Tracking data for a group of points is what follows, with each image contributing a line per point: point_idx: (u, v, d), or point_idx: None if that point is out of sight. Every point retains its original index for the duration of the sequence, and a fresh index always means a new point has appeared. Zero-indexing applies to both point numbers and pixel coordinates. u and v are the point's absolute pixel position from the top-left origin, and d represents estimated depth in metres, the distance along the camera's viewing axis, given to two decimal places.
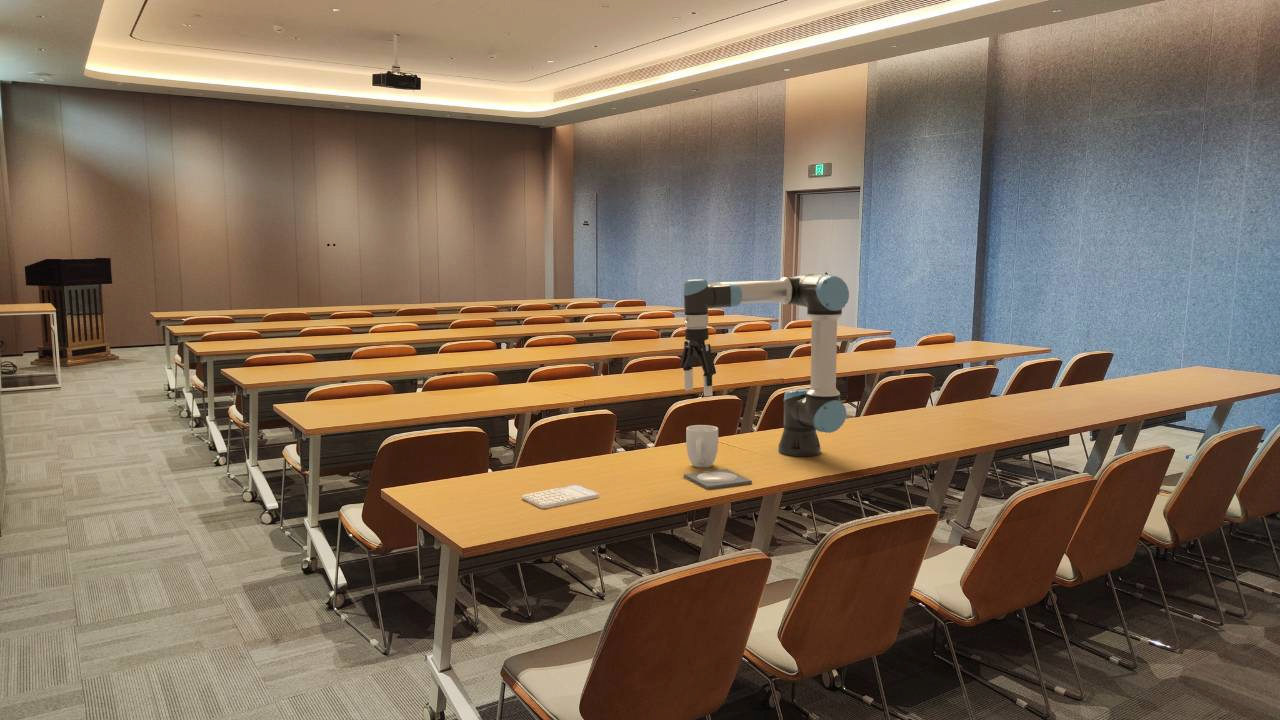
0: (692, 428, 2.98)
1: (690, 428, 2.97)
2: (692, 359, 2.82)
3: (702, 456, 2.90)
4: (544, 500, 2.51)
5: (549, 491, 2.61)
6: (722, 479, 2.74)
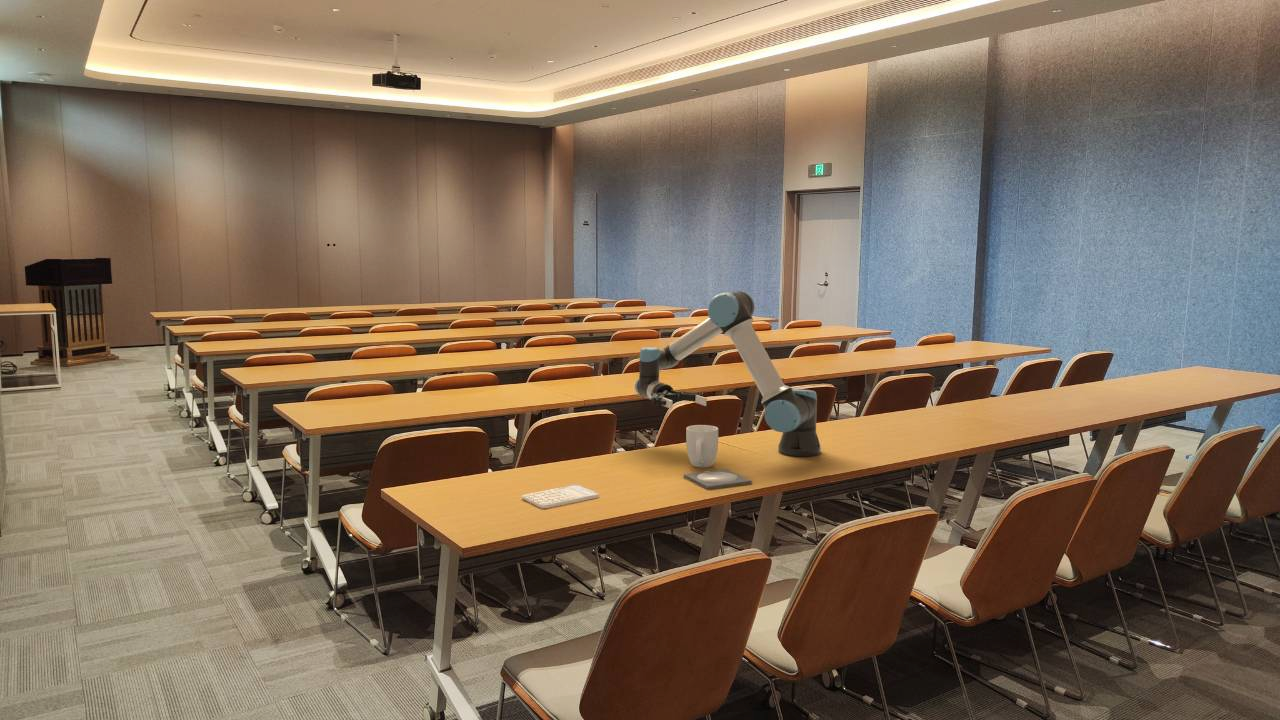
0: (692, 428, 2.98)
1: (690, 428, 2.97)
2: (684, 396, 3.12)
3: (702, 456, 2.90)
4: (544, 500, 2.51)
5: (549, 491, 2.61)
6: (722, 479, 2.74)
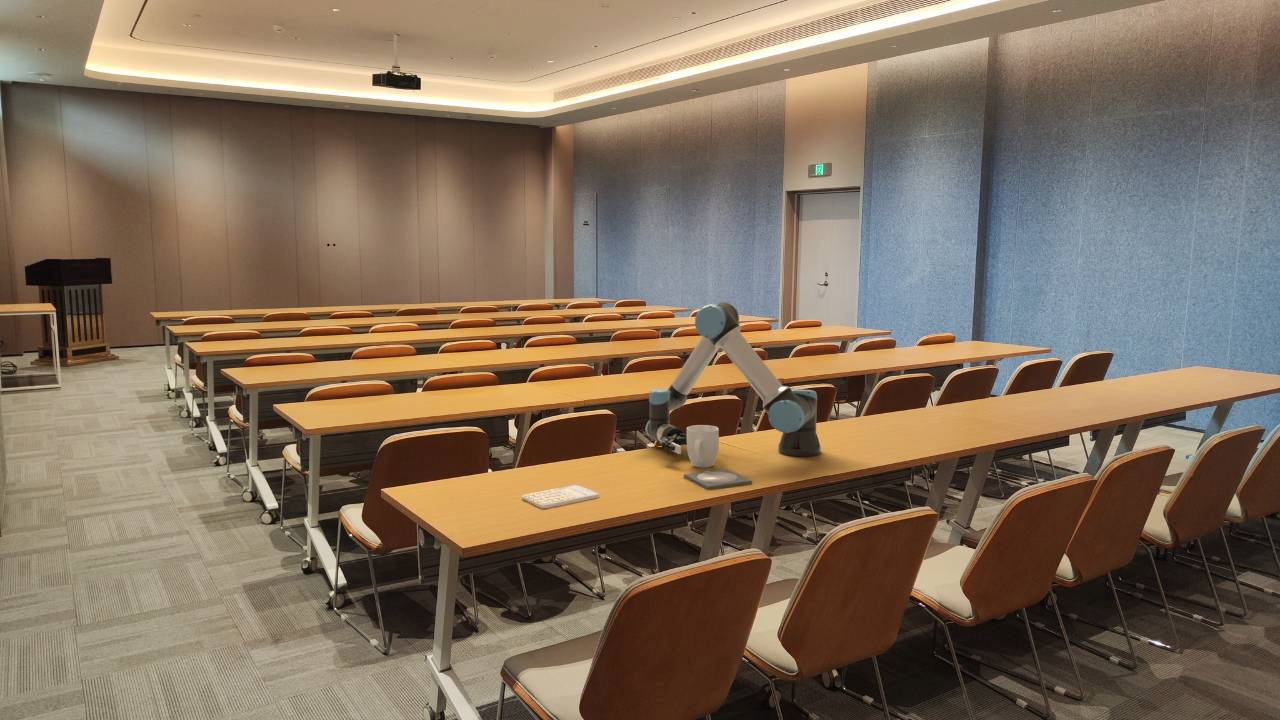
0: (693, 428, 2.98)
1: (691, 428, 2.97)
2: None
3: (701, 456, 2.90)
4: (544, 500, 2.51)
5: (549, 491, 2.61)
6: (722, 479, 2.74)
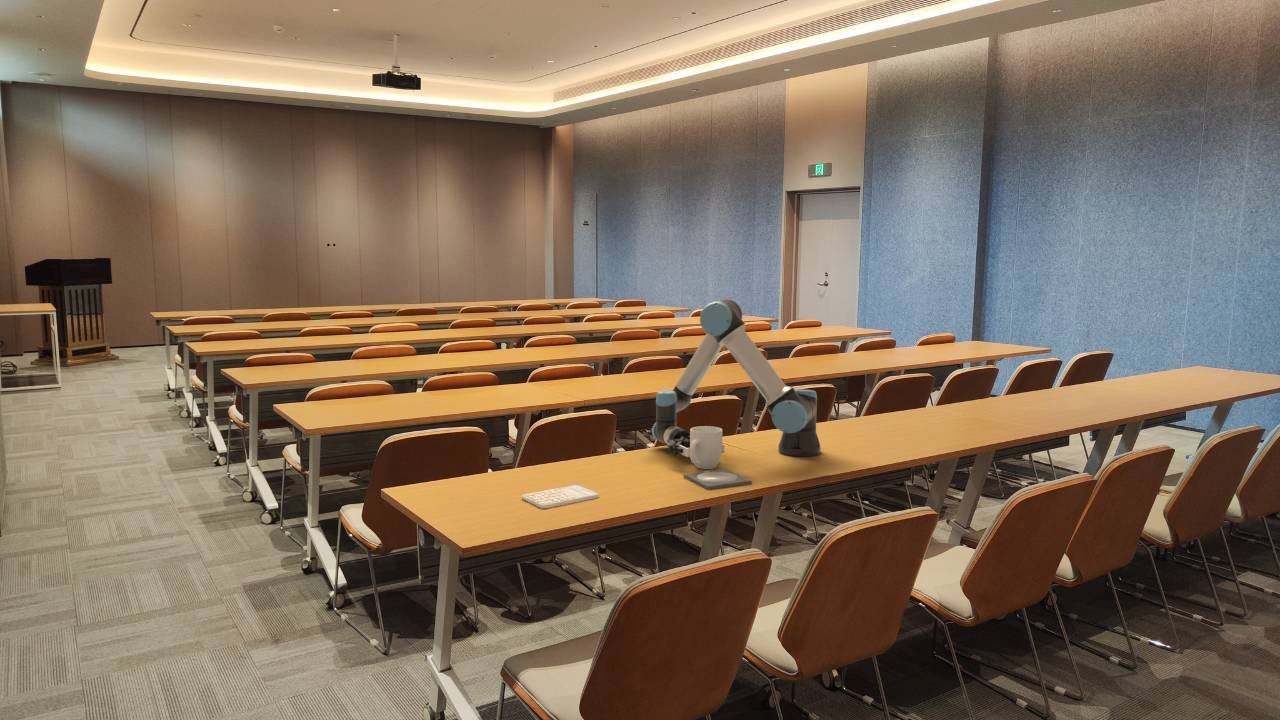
0: (701, 428, 2.97)
1: (698, 428, 2.96)
2: None
3: (700, 457, 2.88)
4: (544, 500, 2.51)
5: (549, 491, 2.61)
6: (722, 479, 2.74)
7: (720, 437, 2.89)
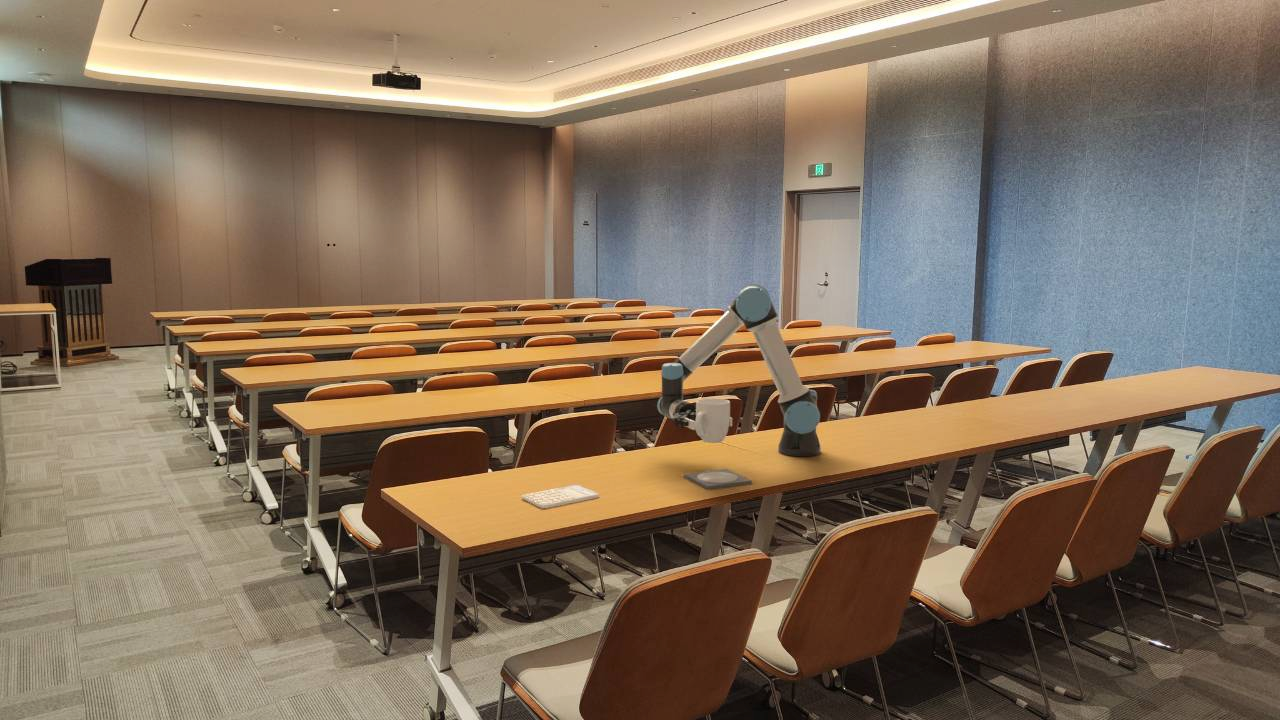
0: (707, 401, 2.83)
1: (705, 401, 2.82)
2: None
3: (706, 430, 2.75)
4: (544, 500, 2.51)
5: (549, 491, 2.61)
6: (722, 479, 2.74)
7: (727, 409, 2.75)
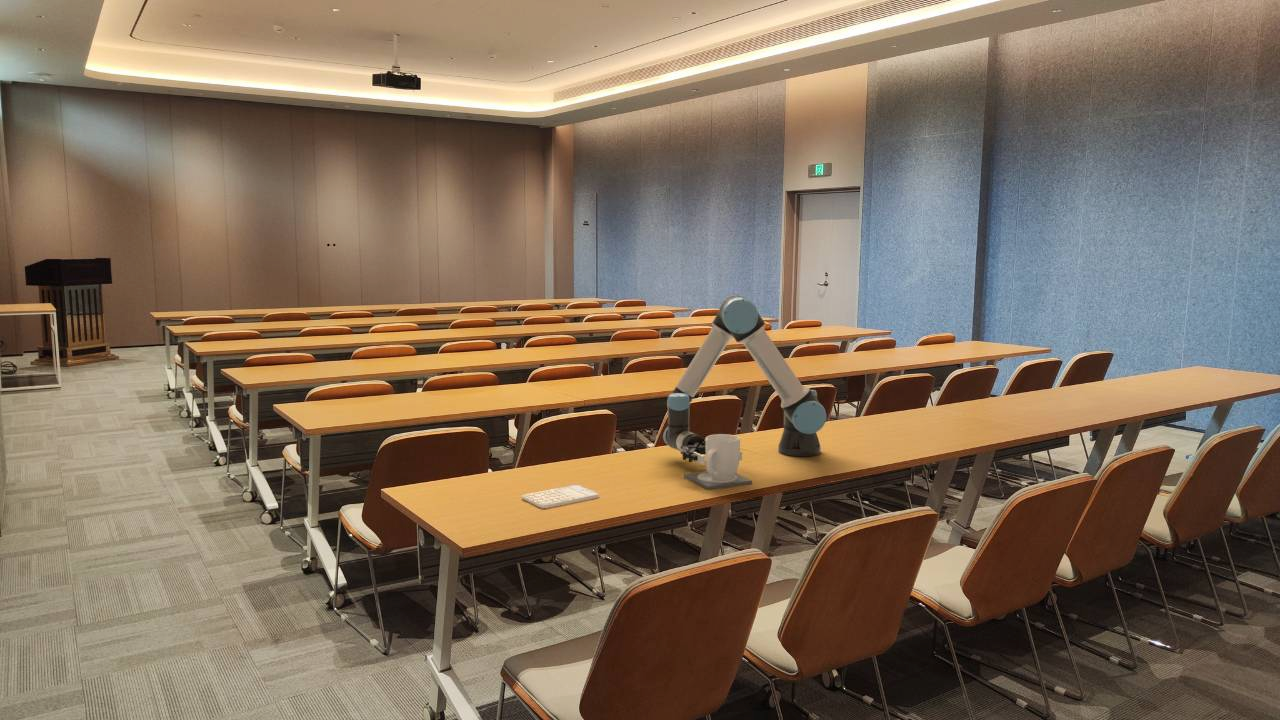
0: (716, 437, 2.78)
1: (714, 437, 2.78)
2: None
3: (716, 468, 2.70)
4: (544, 500, 2.51)
5: (549, 491, 2.61)
6: None
7: (738, 446, 2.71)
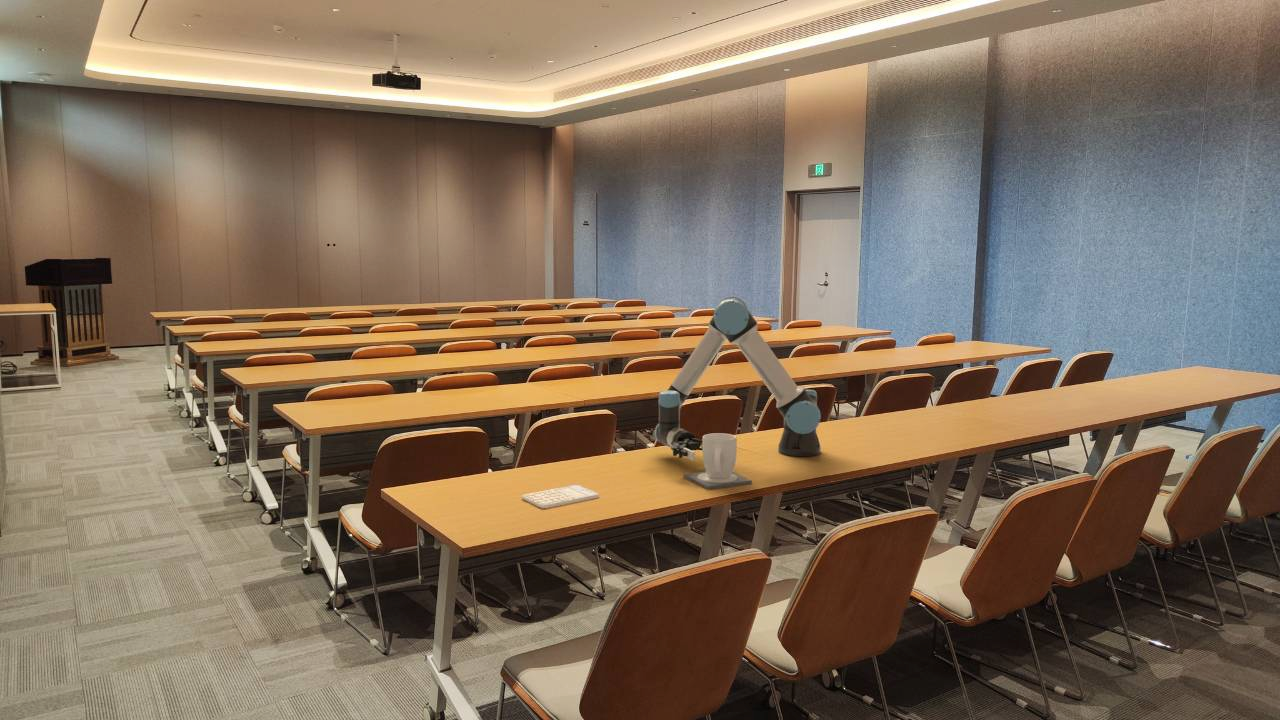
0: (708, 436, 2.79)
1: (706, 437, 2.78)
2: None
3: (720, 467, 2.72)
4: (544, 500, 2.51)
5: (549, 491, 2.61)
6: (722, 479, 2.74)
7: (736, 443, 2.75)
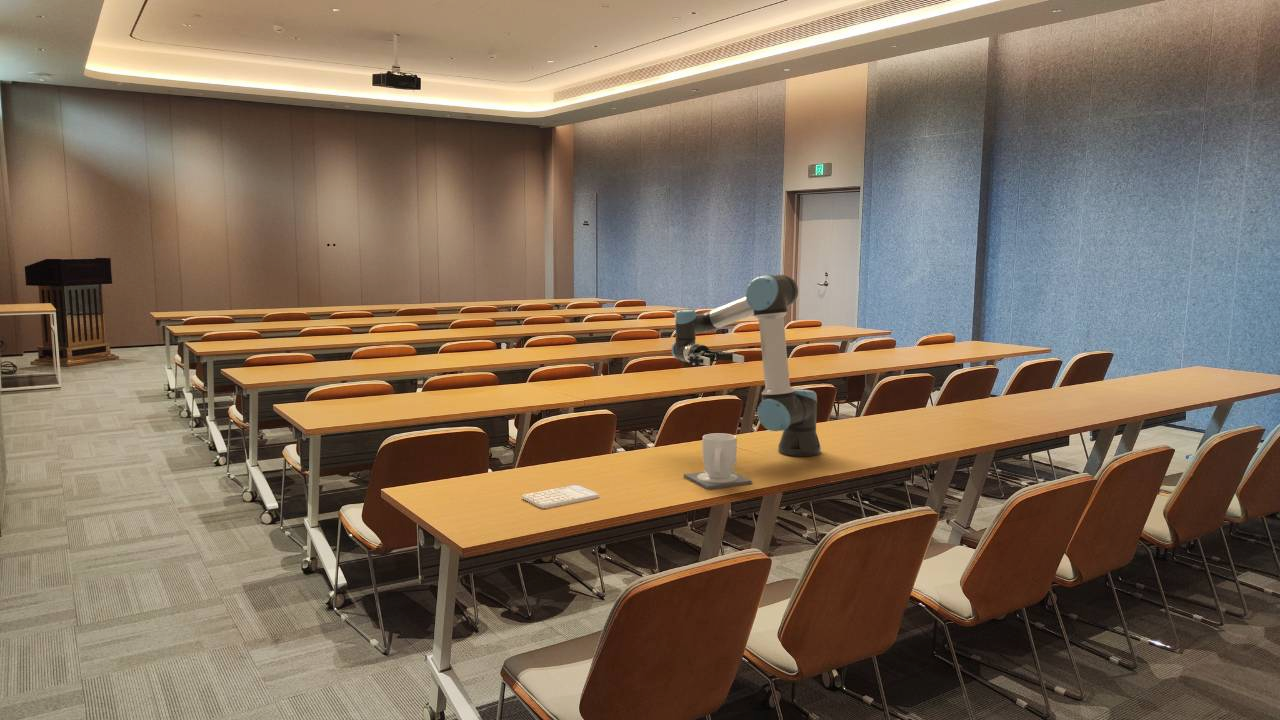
0: (708, 436, 2.79)
1: (706, 437, 2.78)
2: (721, 356, 3.10)
3: (720, 467, 2.72)
4: (544, 500, 2.51)
5: (549, 491, 2.61)
6: (722, 479, 2.74)
7: (736, 443, 2.75)
